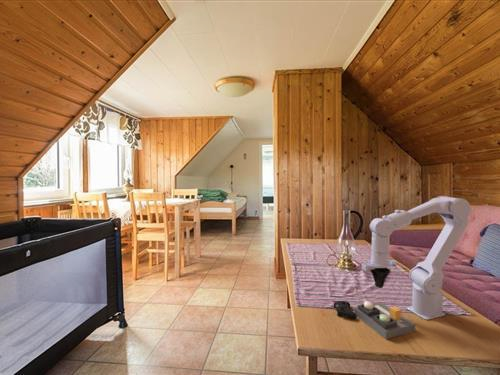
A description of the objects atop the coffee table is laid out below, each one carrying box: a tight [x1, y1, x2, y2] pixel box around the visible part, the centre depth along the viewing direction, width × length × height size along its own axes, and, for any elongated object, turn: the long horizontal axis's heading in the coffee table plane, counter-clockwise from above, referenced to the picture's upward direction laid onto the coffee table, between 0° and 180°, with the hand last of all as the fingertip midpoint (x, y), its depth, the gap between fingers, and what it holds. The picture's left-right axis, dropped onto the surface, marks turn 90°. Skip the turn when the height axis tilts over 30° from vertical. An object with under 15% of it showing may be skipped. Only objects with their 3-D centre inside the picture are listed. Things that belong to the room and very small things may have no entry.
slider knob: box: [389, 306, 402, 320], centre depth 84 cm, size 2×2×3 cm
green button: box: [380, 314, 390, 323], centre depth 81 cm, size 3×3×2 cm
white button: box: [363, 300, 374, 311], centre depth 88 cm, size 3×3×2 cm
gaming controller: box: [333, 300, 358, 320], centre depth 92 cm, size 10×5×6 cm
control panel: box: [354, 302, 416, 340], centre depth 86 cm, size 12×14×4 cm
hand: (379, 286), depth 92 cm, fingers closed
